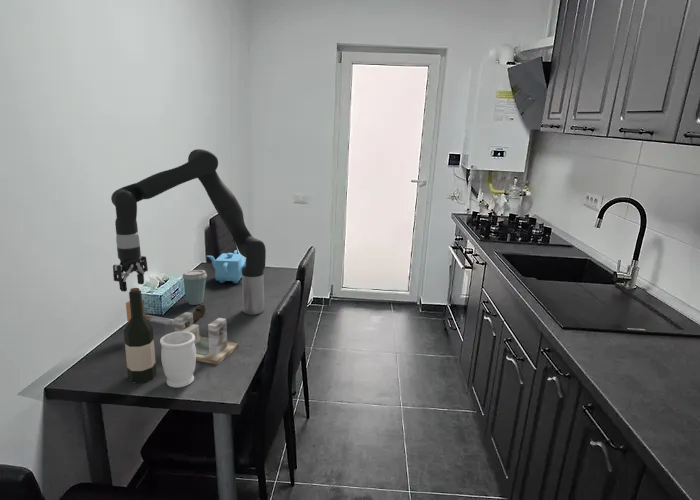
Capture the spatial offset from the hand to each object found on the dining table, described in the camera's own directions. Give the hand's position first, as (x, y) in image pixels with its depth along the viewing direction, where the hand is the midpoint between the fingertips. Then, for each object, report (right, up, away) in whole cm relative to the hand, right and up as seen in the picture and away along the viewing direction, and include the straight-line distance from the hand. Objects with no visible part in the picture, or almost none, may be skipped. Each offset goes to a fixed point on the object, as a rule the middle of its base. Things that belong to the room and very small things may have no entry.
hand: (132, 287), depth 170 cm
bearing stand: (+26, -23, -3) cm, 35 cm away
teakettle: (+17, -2, +75) cm, 77 cm away
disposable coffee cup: (+10, -10, +42) cm, 44 cm away
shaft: (+9, -14, +1) cm, 17 cm away
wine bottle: (+13, -27, -21) cm, 37 cm away
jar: (+26, -28, -23) cm, 45 cm away
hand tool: (+15, -16, +22) cm, 31 cm away
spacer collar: (+23, -21, -2) cm, 31 cm away
